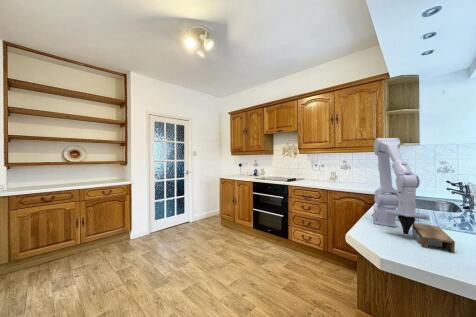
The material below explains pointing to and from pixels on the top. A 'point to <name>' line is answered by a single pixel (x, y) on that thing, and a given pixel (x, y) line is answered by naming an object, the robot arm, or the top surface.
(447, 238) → the shelf
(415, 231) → the tray
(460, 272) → the top surface
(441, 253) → the top surface
